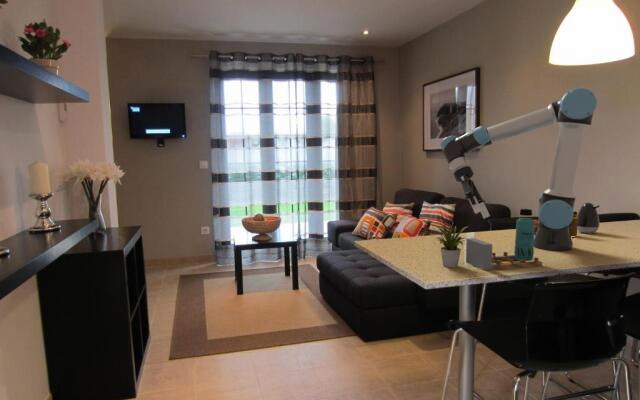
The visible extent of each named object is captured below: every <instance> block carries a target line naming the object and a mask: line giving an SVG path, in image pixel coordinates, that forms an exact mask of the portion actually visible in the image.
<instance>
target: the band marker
mask: <svg viewBox="0 0 640 400" xmlns="http://www.w3.org/2000/svg"><path fill="white" fill-rule="evenodd" d="M492 258H494V256H493V255H492ZM501 264H503V265H509V264H511V262H509V261H501Z"/></svg>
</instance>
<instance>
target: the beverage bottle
mask: <svg viewBox="0 0 640 400" xmlns="http://www.w3.org/2000/svg"><path fill="white" fill-rule="evenodd" d="M519 215H520V216H529V217H519V218H518V219H517V220H516V223H515V224H516V225H515V239H514V250H513V251H514V254H513V255H515V256H514V257H515V259H517V260H516V261H522V258H525V259H526V262H532V261H534V258H535V257H534V252H535V247H534V238H535V235H536V234H534V227H535V221H534V220H535V219H533V218H530V216H533V210H532V209H529V208H522V209H520V210H519Z"/></svg>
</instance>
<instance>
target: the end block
mask: <svg viewBox="0 0 640 400" xmlns="http://www.w3.org/2000/svg"><path fill="white" fill-rule="evenodd" d="M465 239H466V240H465V242H466V243H465V245H466V246H465V263H466V264H469V265H471V266H474V267H475V268H478V269H480V270H483V271H491V270H492V264H493V263H492V253H493V244H492V243H489V242H487V241H483V240H480V239H479V238H475V237H470V238H468V237H465Z"/></svg>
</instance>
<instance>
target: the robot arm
mask: <svg viewBox="0 0 640 400" xmlns="http://www.w3.org/2000/svg"><path fill="white" fill-rule="evenodd" d="M597 105H598V100H597V97H596V95H595V94H594V93H593V91H592V90H590V89H588V88H584V87H576V88H572V89H570V90H568V91H566V92H565V93H564V94H563V95H562V97H561V98H560V99H558V100H556V101H554V102H550V103H549V104H548V106H547V107H544V108H540V109H538V110H535V111H532V112H529V113H527V114H523V115H521V116H517V117H514V118H512V119H509V120H506V121H503V122H500V123H498V124H497V123H496V124H495V125H492V126H489V127H485V126H483V125H480V126H478V127H476V128H475V127H474V128H473V129H472V130H470V131H468V132H466V133H465V134H463V135H461V136H459V137H456V136H455V135H449V136H446V137H444V138H443V139H442V140H441V141H440V148H441V149H442V154H443V155H444V156H445V159H446V161H447V164H448V165H449V170H450V171H452V173H453V176H454V179H455V180H456V182H460V183H461V186H462V189H463V192H464V195H465V199H466V200H468V201H469V204H470V206H471V208H472V209H473V213H474V214H475V215H477V214H479V213H480V214H481V215H482V216H481V217H482V218H483V219H486V218H488V217H489V218H490V217H491V215H490V213H489V211H488V209H487V207H486V204H485V202H486V200H485V199H483V197H482V196H481V194H480V191H479V190H478V189H477V186H476V184H475V181H473V180H472V177H474V175H475V174H474V170H473V169H472V167H471V166H470V162H469V161H468V159H467V156H466V154H468V153H470V152H472V151H474V150H475V149H476V150H479V149H482V148H485V147H487V146H488V147H489V146H490V145H494V144H496V143H500V142H502V141H505V140H508V139H511V138H515V137H518V136H521V135H524V134H527V133H530V132H533V131H537V130H539V129H542V128H545V127H550V126H551V125H555V126H558V127H559V130H558V131H559V132H558V136H557V141H556V142H557V143H556V146H555V152H554V156H553V163H552V167H551V171H550V176H549V182H548V187H547V188H546V189H545V190H544V191H542V192H541V193H540V194H539V198H538V230H537V233H536V234H535V235H534V236H535V237H534V248H537V249H542V250H548V251H571V250H573V249H572V248H574V243H573V240H572V239H573V238H571V236H570V232H569V223H570V222H571V221H572V219H573V211H574V207H575V202H576V199H577V197H576V195H575V193H574V192H573V191H574V186H575V181H576V175H577V171H578V166H579V162H580V157H581V153H582V147H583V142H584V138H585V132H586V130H587V129H589V128H591V126H592V123H593V116H594V112H595V111H596V109H597ZM570 249H571V250H570Z"/></svg>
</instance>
